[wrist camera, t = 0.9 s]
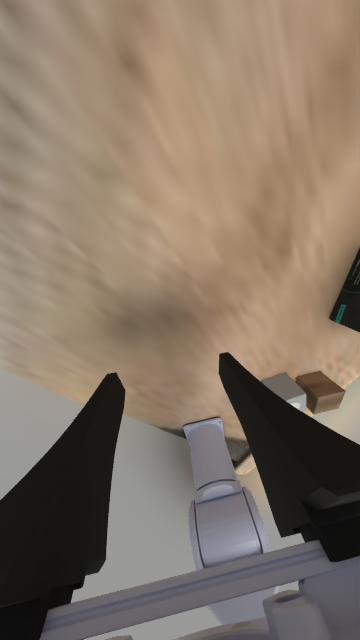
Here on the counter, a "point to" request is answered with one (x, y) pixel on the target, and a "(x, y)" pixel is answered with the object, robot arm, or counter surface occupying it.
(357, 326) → the tampon box
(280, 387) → the grey dot cube
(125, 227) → the counter surface
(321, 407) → the walnut cube
